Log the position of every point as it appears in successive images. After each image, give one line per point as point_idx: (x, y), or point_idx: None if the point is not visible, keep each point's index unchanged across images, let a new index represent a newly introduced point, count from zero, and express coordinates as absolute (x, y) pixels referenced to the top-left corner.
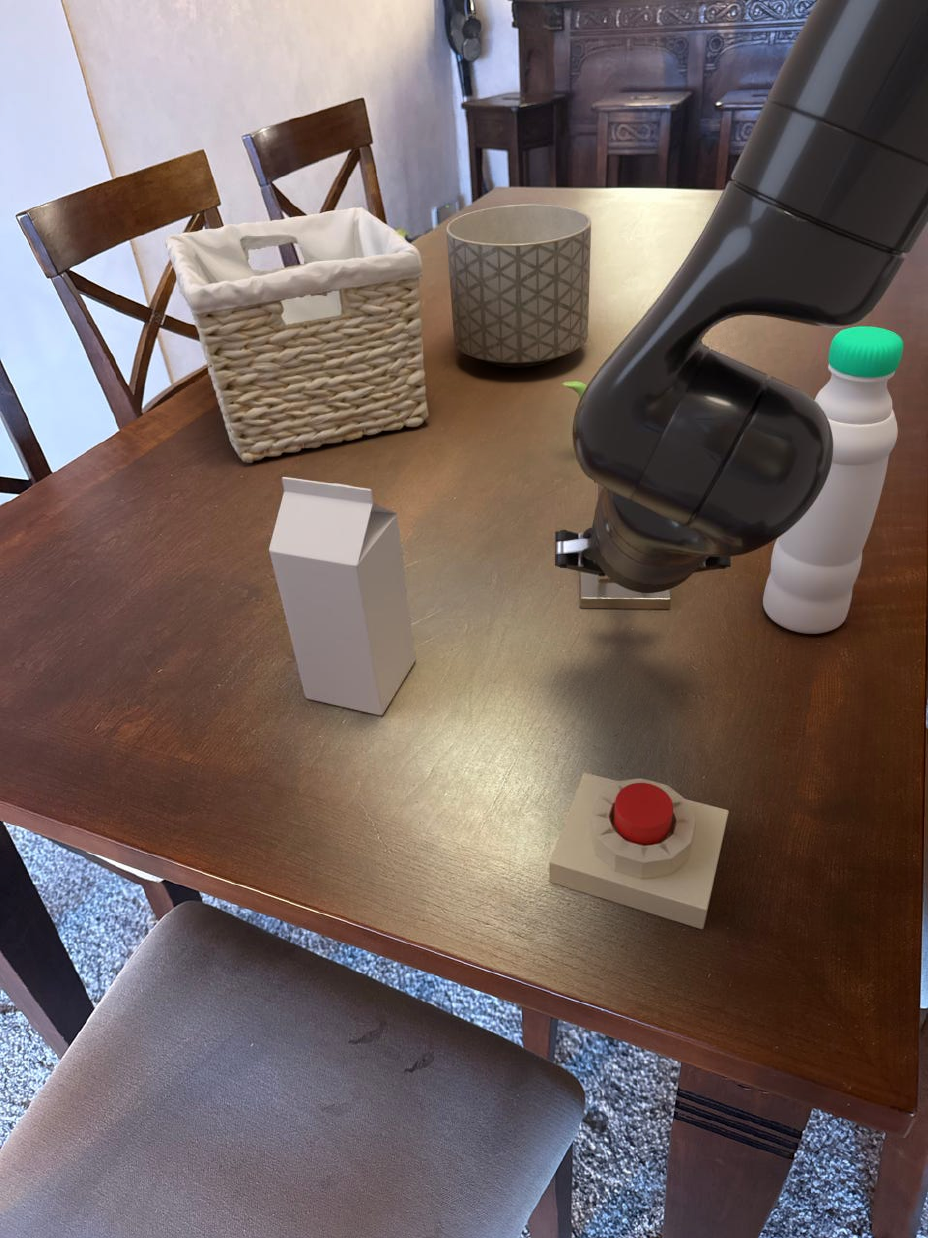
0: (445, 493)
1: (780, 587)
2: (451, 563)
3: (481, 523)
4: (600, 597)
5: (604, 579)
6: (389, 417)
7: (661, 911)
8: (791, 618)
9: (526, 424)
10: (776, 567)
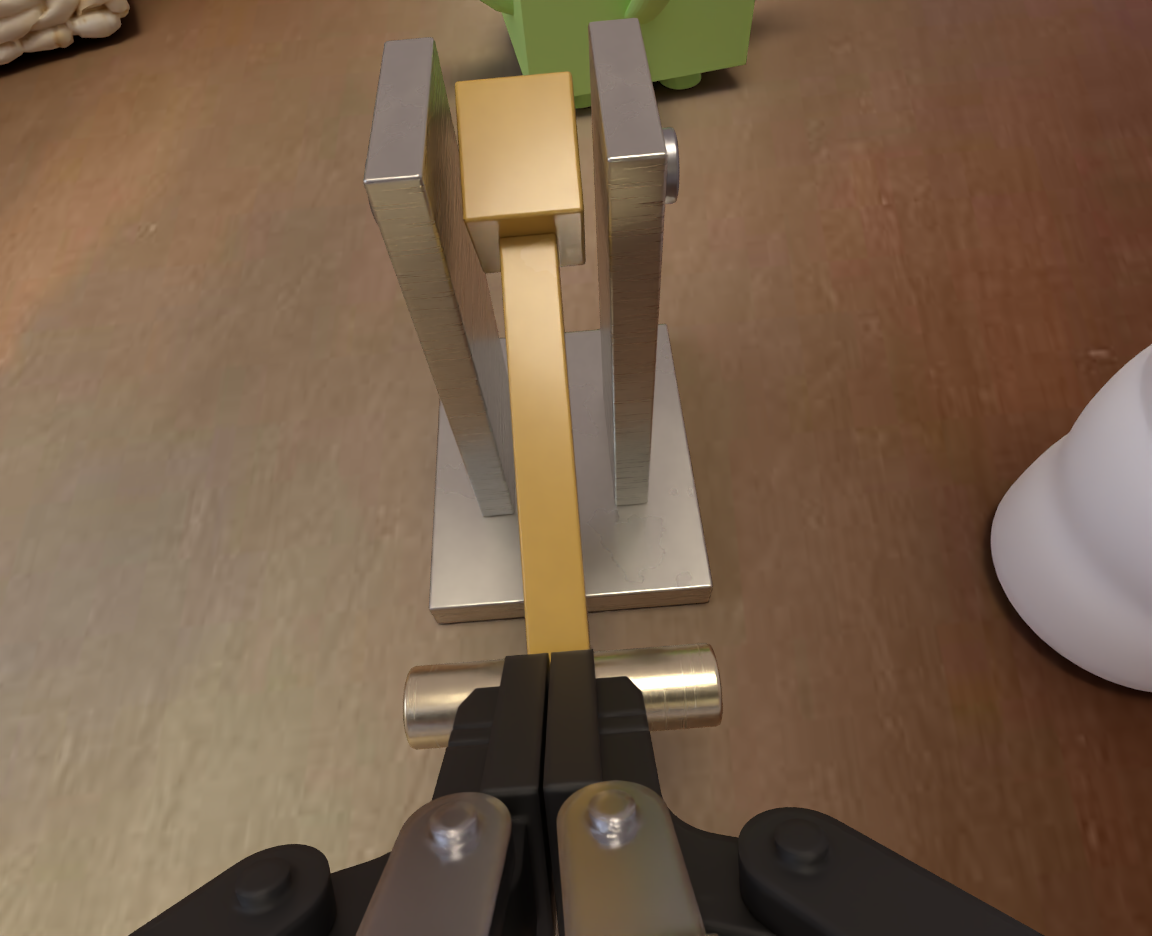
0: (132, 215)
1: (1118, 585)
2: (88, 461)
3: (202, 304)
4: (491, 601)
5: (438, 745)
6: (21, 16)
7: None
8: (1131, 668)
9: (355, 12)
10: (1125, 528)
